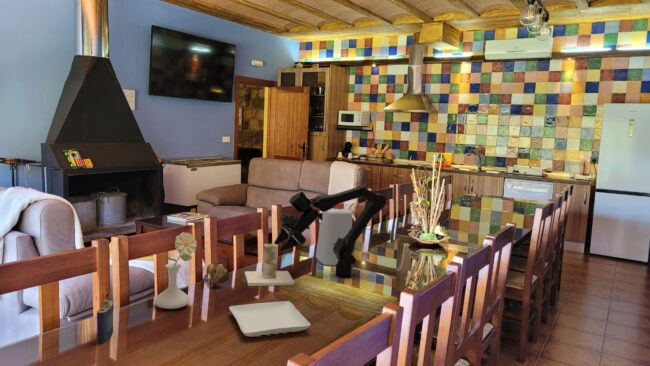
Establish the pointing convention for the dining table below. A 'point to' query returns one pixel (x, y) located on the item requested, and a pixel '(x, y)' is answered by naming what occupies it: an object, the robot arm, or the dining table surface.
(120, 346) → the dining table surface
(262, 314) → the salad plate
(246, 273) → the platter
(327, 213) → the plastic bottle
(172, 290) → the flower in vase
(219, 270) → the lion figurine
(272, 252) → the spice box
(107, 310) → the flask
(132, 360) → the dining table surface
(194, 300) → the dining table surface
